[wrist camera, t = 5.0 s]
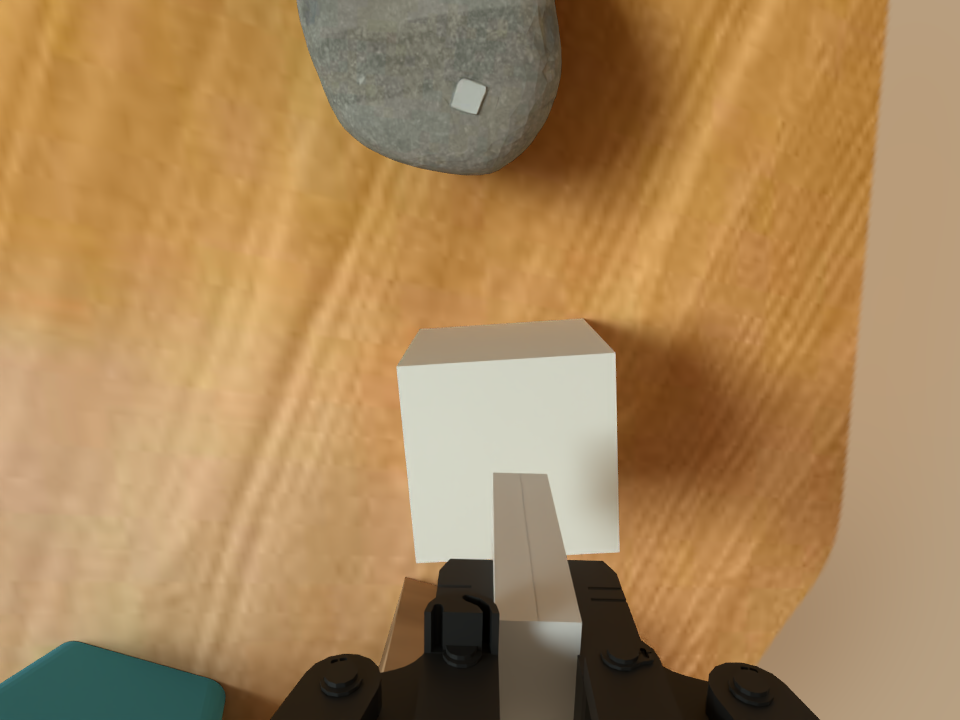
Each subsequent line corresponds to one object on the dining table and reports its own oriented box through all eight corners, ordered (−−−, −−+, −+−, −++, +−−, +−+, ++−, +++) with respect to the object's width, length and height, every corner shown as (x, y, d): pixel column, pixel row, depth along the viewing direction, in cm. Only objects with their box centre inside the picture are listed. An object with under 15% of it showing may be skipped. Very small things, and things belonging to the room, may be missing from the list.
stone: (579, -135, 23) (601, -119, 15) (541, 112, 29) (543, 214, 21) (334, -164, 23) (232, -163, 15) (346, 89, 29) (277, 183, 21)
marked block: (405, 576, 29) (379, 690, 22) (546, 613, 30) (565, 738, 23) (370, 697, 31) (334, 840, 24) (504, 731, 31) (510, 882, 24)
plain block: (419, 328, 27) (396, 366, 20) (582, 318, 27) (615, 352, 20) (433, 480, 28) (416, 562, 22) (587, 471, 28) (619, 552, 21)
